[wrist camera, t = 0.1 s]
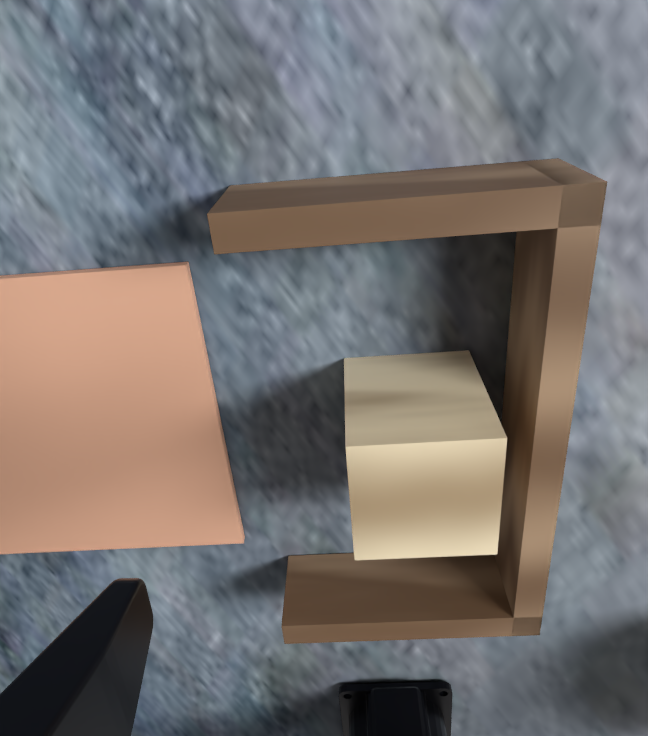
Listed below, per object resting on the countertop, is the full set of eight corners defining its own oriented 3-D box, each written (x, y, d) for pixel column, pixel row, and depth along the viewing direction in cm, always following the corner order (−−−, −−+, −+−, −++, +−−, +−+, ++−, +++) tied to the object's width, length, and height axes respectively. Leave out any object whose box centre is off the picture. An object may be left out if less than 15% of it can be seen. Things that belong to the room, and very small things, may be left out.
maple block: (464, 450, 25) (497, 554, 20) (351, 456, 26) (354, 560, 20) (468, 349, 23) (507, 438, 18) (343, 357, 23) (345, 446, 18)
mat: (244, 536, 28) (243, 543, 28) (-30, 549, 29) (-35, 555, 28) (188, 261, 21) (186, 265, 21) (-168, 288, 22) (-176, 292, 22)
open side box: (514, 563, 28) (539, 635, 25) (291, 572, 29) (284, 643, 26) (558, 158, 19) (607, 182, 16) (230, 185, 20) (206, 213, 16)
